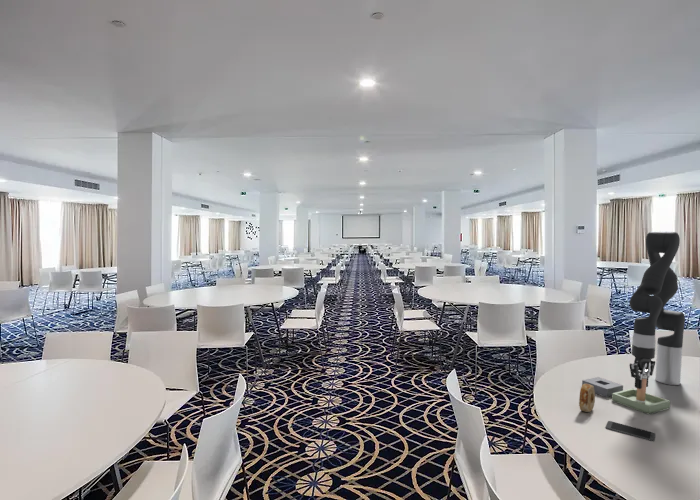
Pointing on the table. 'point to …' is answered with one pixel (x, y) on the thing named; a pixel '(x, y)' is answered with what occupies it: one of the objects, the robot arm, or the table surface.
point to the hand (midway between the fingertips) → (641, 387)
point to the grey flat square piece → (603, 386)
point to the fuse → (642, 390)
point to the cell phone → (630, 431)
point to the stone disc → (587, 398)
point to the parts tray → (650, 406)
